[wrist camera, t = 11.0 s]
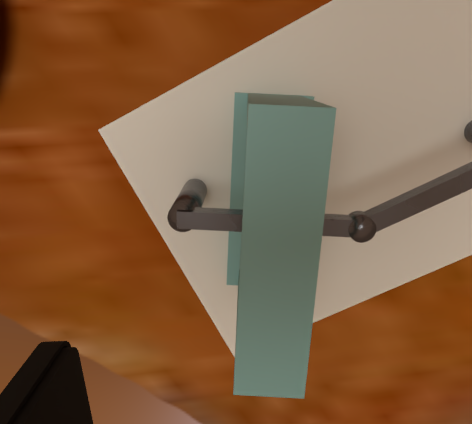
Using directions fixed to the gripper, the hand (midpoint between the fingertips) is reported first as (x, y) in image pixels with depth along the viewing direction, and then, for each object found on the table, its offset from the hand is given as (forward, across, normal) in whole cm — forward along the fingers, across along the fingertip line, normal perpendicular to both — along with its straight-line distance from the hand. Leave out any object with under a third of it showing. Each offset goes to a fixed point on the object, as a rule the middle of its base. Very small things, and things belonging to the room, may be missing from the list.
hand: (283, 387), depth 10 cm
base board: (+29, -6, +2) cm, 29 cm away
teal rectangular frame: (+27, 0, +3) cm, 27 cm away
